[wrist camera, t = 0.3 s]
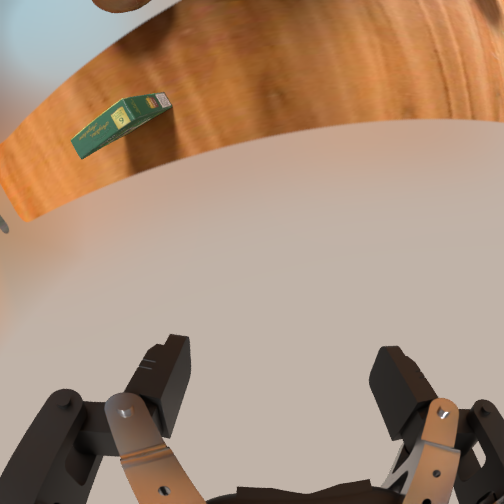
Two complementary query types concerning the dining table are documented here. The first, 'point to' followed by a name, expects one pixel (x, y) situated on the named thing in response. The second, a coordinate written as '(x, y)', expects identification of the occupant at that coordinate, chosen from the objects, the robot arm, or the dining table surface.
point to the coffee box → (119, 121)
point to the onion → (120, 5)
